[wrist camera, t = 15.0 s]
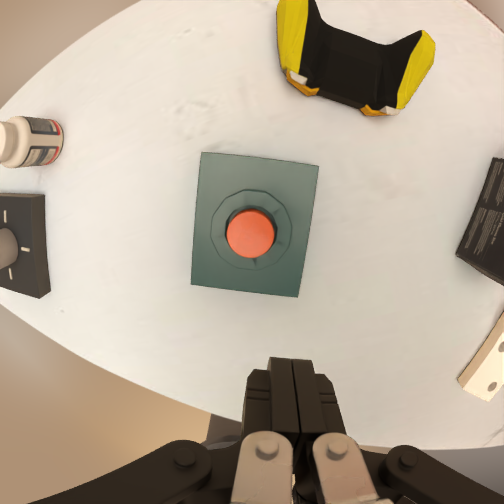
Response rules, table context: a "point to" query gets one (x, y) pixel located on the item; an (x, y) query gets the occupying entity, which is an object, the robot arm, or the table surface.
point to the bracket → (486, 366)
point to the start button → (250, 233)
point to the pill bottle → (29, 141)
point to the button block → (261, 198)
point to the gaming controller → (349, 61)
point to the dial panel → (25, 244)
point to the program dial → (7, 248)
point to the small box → (487, 228)
